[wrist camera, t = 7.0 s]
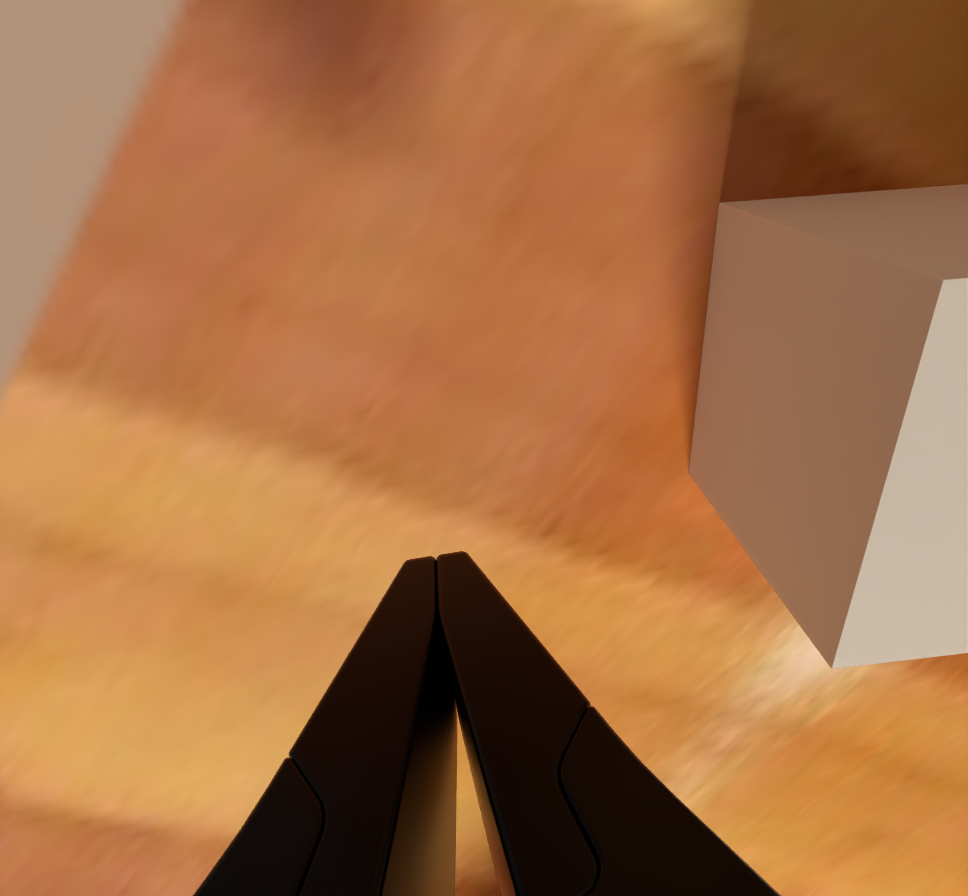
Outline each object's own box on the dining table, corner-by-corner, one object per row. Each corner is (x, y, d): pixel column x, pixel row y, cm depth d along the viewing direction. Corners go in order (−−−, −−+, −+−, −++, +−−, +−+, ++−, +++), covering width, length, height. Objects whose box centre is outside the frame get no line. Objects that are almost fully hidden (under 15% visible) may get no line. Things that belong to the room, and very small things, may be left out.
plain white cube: (1014, 178, 13) (1448, 236, 7) (929, 446, 16) (1197, 626, 10) (715, 201, 12) (944, 280, 7) (685, 471, 15) (832, 671, 10)
